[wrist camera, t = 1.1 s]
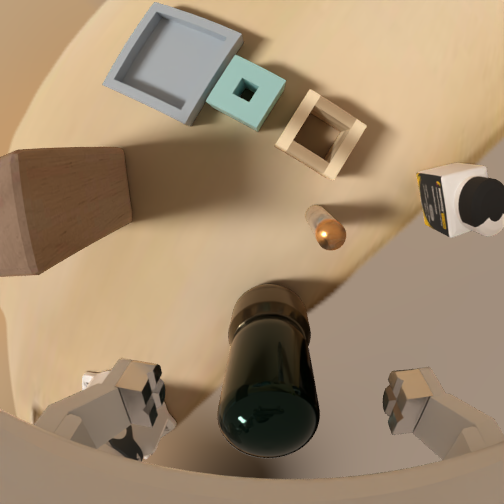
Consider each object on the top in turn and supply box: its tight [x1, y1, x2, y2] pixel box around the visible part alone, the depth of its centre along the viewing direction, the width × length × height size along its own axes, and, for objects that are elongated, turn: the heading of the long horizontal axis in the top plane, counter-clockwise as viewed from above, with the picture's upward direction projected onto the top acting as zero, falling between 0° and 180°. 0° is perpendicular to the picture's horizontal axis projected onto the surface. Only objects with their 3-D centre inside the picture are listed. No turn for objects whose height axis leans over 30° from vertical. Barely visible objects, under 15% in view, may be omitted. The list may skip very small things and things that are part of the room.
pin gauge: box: [305, 205, 346, 250], centre depth 32 cm, size 3×3×10 cm
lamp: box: [218, 284, 320, 458], centre depth 31 cm, size 10×10×22 cm
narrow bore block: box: [206, 55, 286, 132], centre depth 31 cm, size 6×6×5 cm
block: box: [0, 147, 132, 277], centre depth 28 cm, size 10×10×20 cm
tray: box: [102, 2, 244, 126], centre depth 31 cm, size 12×12×3 cm
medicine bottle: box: [416, 163, 504, 238], centre depth 30 cm, size 7×7×12 cm
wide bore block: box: [275, 89, 367, 181], centre depth 32 cm, size 7×7×5 cm
